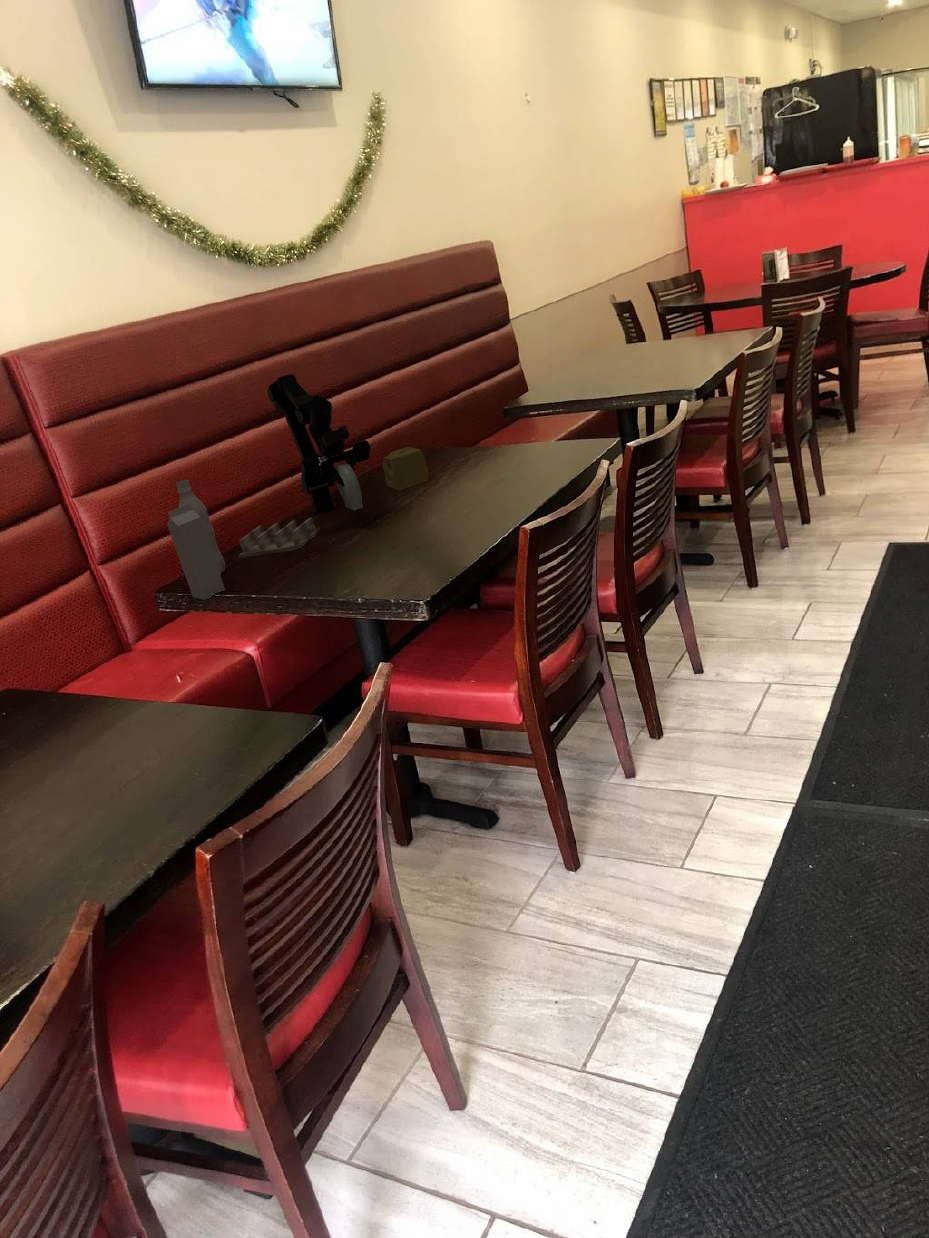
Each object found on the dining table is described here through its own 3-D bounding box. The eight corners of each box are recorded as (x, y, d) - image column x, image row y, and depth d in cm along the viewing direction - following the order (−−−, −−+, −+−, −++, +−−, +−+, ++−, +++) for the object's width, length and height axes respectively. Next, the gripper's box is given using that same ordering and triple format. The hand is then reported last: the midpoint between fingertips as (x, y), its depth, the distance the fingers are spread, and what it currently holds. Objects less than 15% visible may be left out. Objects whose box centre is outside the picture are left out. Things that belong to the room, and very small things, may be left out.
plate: (342, 505, 267) (330, 463, 262) (351, 502, 267) (340, 460, 263) (356, 511, 256) (344, 468, 252) (366, 508, 257) (354, 465, 253)
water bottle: (220, 578, 249) (187, 483, 240) (195, 582, 251) (162, 488, 242) (232, 567, 256) (200, 475, 247) (207, 571, 258) (175, 480, 249)
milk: (225, 591, 238) (196, 503, 230) (204, 600, 235) (173, 512, 227) (213, 588, 242) (184, 502, 235) (192, 597, 239) (162, 511, 231)
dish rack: (263, 540, 275) (258, 524, 274) (320, 531, 269) (316, 515, 268) (240, 558, 263) (234, 542, 261) (299, 549, 257) (294, 533, 255)
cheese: (387, 487, 300) (378, 455, 297) (419, 476, 304) (410, 445, 300) (398, 492, 291) (390, 459, 287) (431, 481, 294) (423, 448, 291)
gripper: (291, 429, 254) (316, 476, 248) (358, 409, 260) (383, 454, 254) (292, 456, 264) (315, 501, 258) (356, 436, 270) (380, 479, 264)
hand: (349, 483), depth 258 cm, fingers closed on plate, 3 cm apart
